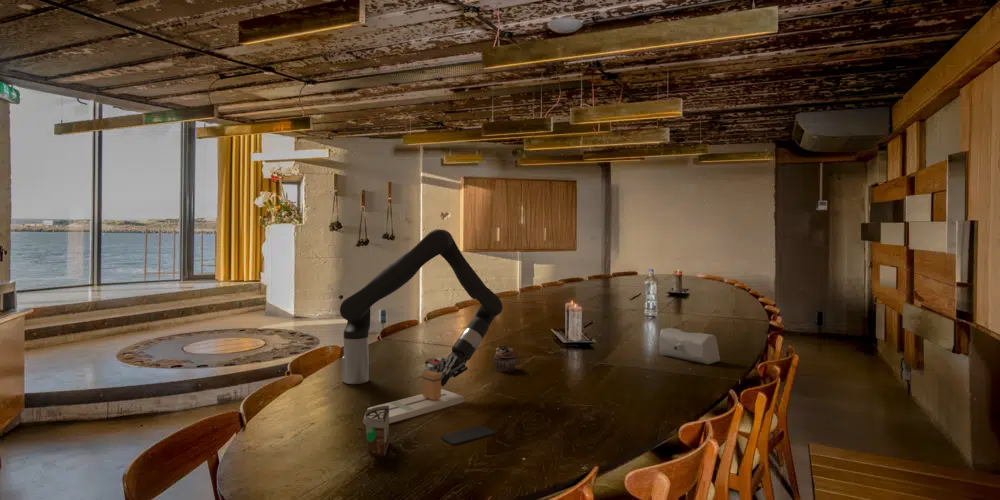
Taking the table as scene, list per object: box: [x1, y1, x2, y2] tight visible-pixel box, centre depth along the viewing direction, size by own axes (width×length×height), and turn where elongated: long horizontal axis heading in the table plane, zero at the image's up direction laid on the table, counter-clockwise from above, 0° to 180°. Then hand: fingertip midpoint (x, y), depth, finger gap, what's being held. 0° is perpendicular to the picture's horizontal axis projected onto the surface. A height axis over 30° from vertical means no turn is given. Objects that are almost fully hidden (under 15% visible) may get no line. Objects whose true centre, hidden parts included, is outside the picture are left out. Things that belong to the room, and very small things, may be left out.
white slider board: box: [366, 388, 465, 425], centre depth 182 cm, size 30×12×2 cm, turn 134°
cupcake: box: [492, 345, 517, 373], centre depth 231 cm, size 10×10×10 cm
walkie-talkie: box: [424, 356, 442, 373], centre depth 232 cm, size 9×4×20 cm
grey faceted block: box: [658, 327, 721, 365], centre depth 250 cm, size 25×16×12 cm, turn 39°
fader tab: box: [421, 370, 442, 400], centre depth 186 cm, size 3×6×8 cm, turn 44°
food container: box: [362, 406, 390, 457], centre depth 148 cm, size 12×6×10 cm, turn 5°
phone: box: [440, 425, 496, 446], centre depth 158 cm, size 7×1×15 cm
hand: (440, 384), depth 189 cm, fingers closed
